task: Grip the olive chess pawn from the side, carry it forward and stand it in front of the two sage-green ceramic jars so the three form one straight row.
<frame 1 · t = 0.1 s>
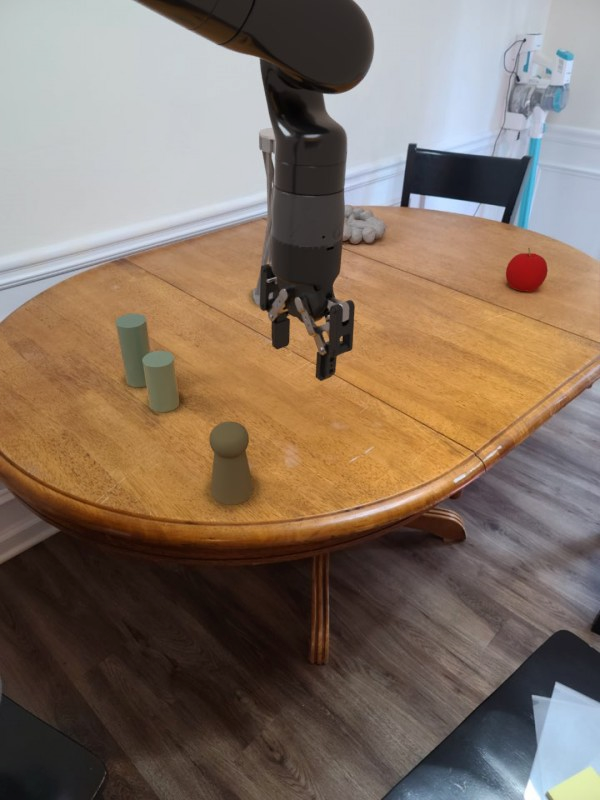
hand: (301, 361, 68), 21 cm above the table, tool pointing down, fingers open, 8 cm apart
olive chess pawn: (232, 490, 80), on the table
front jar: (164, 403, 96), on the table
campfire: (350, 234, 166), on the table
grey lattice tower: (281, 298, 130), on the table
back jar: (140, 379, 101), on the table
fruit: (521, 288, 138), on the table
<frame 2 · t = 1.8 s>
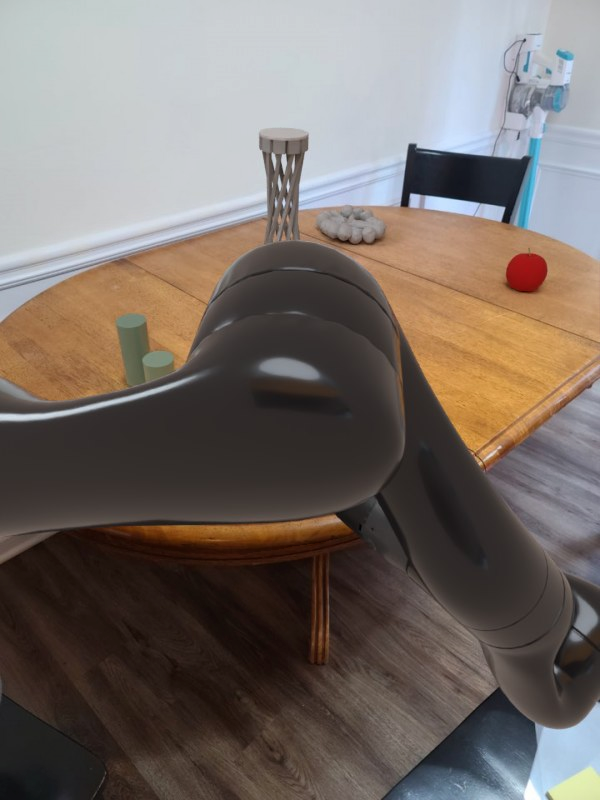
hand: (286, 424, 61), 19 cm above the table, tool horizontal, fingers open, 8 cm apart
nothing on the table moved.
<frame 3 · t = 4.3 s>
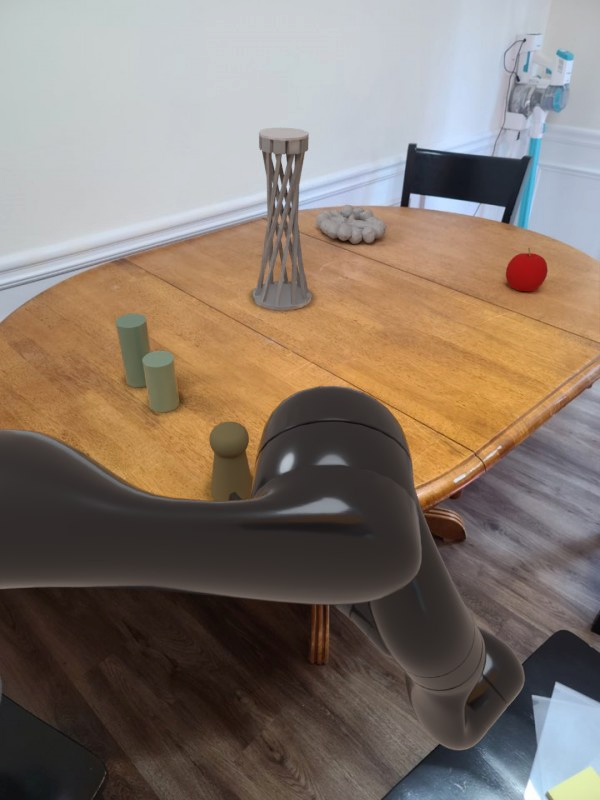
hand: (259, 483, 72), 7 cm above the table, tool horizontal, fingers open, 8 cm apart
nothing on the table moved.
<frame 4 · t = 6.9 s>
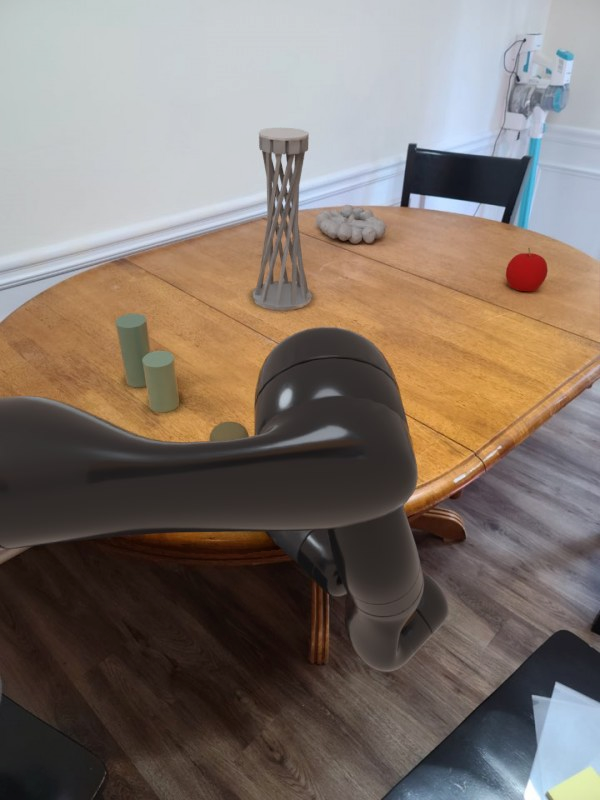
hand: (220, 443, 78), 7 cm above the table, tool horizontal, fingers closed on olive chess pawn, 3 cm apart
olive chess pawn: (232, 490, 80), on the table, touching gripper
everything else where it was.
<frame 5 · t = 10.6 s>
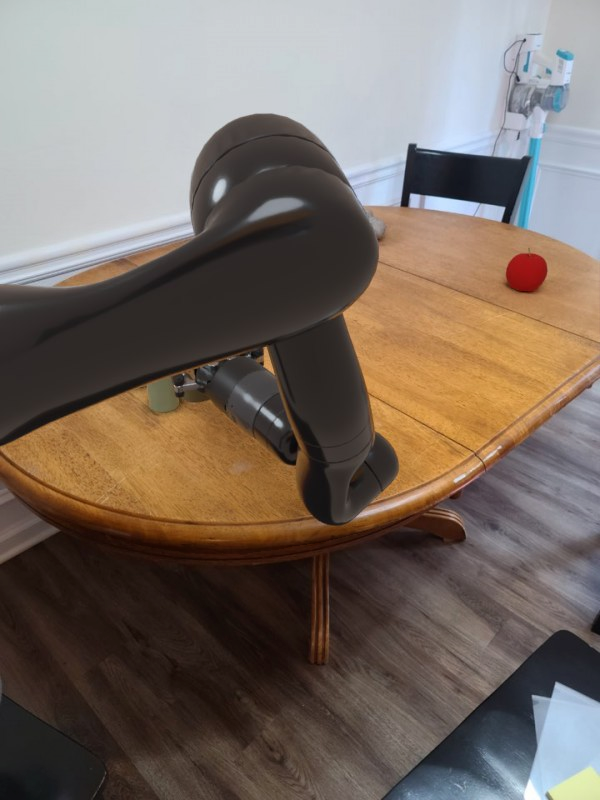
hand: (184, 341, 78), 18 cm above the table, tool horizontal, fingers closed on olive chess pawn, 3 cm apart
olive chess pawn: (198, 391, 80), point 11 cm above the table, touching gripper
everything else where it was.
when the fingers open (7 cm above the table, at t = 14.6 s): olive chess pawn stays where it is, on the table.
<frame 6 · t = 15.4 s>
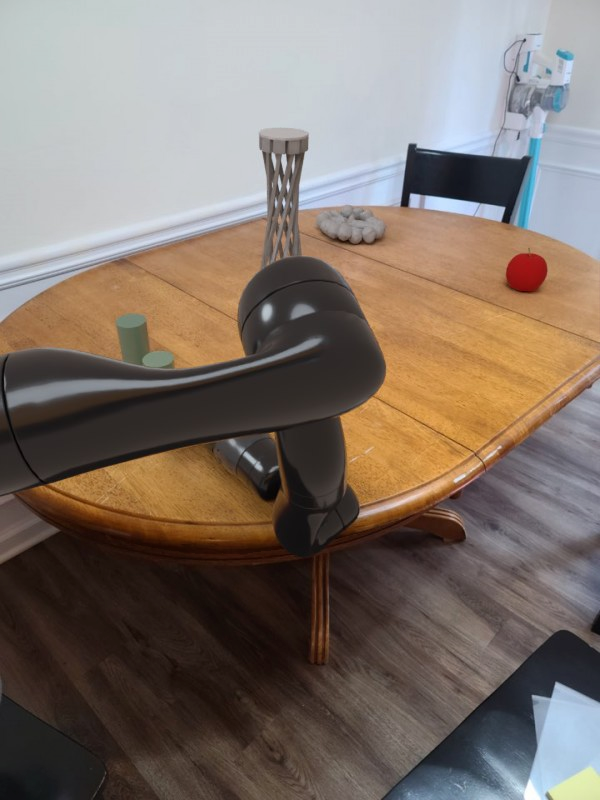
hand: (180, 388, 87), 7 cm above the table, tool horizontal, fingers open, 8 cm apart
olive chess pawn: (191, 431, 90), on the table
everything else where it was.
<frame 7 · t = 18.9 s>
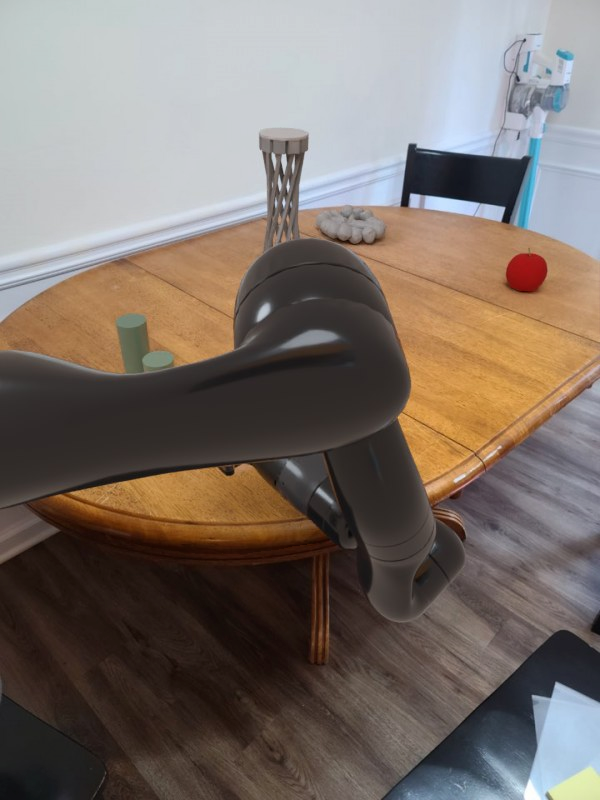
hand: (228, 405, 75), 13 cm above the table, tool horizontal, fingers open, 8 cm apart
nothing on the table moved.
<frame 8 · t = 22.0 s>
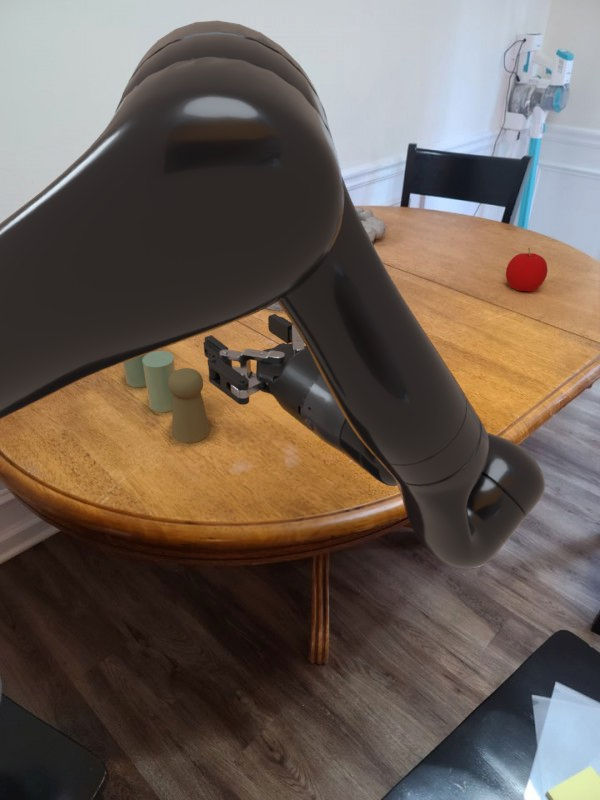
hand: (240, 332, 64), 26 cm above the table, tool horizontal, fingers open, 8 cm apart
nothing on the table moved.
at the end: olive chess pawn 0.1 cm from the target spot on the table beside the back jar, on the table; olive chess pawn tilted 0°; the gripper is holding nothing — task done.
